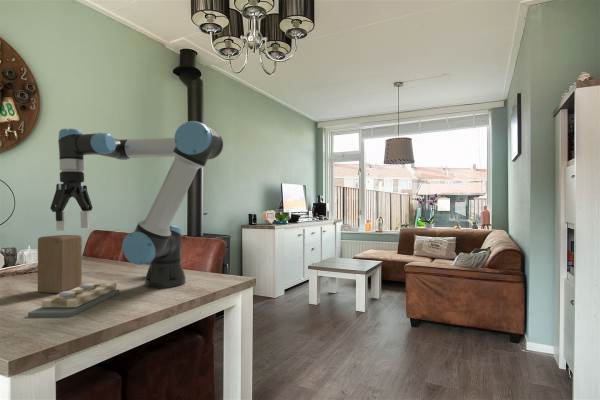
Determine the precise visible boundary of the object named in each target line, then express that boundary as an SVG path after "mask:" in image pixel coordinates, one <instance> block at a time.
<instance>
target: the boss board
mask: <svg viewBox="0 0 600 400" xmlns="http://www.w3.org/2000/svg"><path fill="white" fill-rule="evenodd" d="M92 283H93V282H88V283H83V284H82V285H80V288H84V291H90V288H91V287H93V284H92ZM58 294H59V296H60V297H63V300H69V299H70V296H71V295H73V291H64V292H60V293H58ZM118 294H120V289H115V290H113V291H110V292H108V293H106V294H104V295H102V296H100V297H97V298H95V299H93V300H91V301H89V302H87V303H84V304H82V305H80V306H78V307H42V306H41V307H39V308H37V309H34V310H31V311H29V312H28V313H27V317H28V318H71V317H73V316H75V315H78V314H79V313H81V312H83V311H86V310H87V309H90V308H91V307H94V306H96V305H97V304H99V303H102V302H103V301H106V300H107V299H110V298H112V297H114V296H117V295H118Z"/></svg>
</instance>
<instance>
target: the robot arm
mask: <svg viewBox="0 0 600 400" xmlns="http://www.w3.org/2000/svg"><path fill="white" fill-rule="evenodd" d="M57 142H58V154H59V157H58V158H59V171H60V172H59V182H60V183H56V185H55V186H56V189H55V193H54V195H53V199H52V201H51V205H50V211H51V212H52V213H55V221H56V222H55V223H56V224H55V225H56V231H57V232H59V231H60V232H61V231H66V230H67V228H66V227H67V225H66V211H64V210H65V209H66V207H67V205H68V203H69V201H70V199H71V198H74V199H75V201H76V202H77V205H78V206H79V207H80V228H81V229H85V228H86V229H89V228H90V214H89V212H91V211H92V210H93V205H92V202H91V199H90V196H89V192H88V187H87V185H86V184H85V185H82V183H83V182H85V173H84V171H85V166H84V165H85V163H84V156H87V155H88V156H91V155H95V156H96V155H98V156H102V157H108V158H114V159H116V160H122V161H123V160H129V159H143V158H145V159H146V158H174V160H172V161H173V162H172V163H171V165H170V168H169V169H168V172H167V174H166V176H165V178H164V180H163V182H162V184H161V185H160V188H159V190H158V192H157V194H156V197H155V199H154V201H153V203H152V205H151V207H150V209H149V211H148V213H147V215H146V217H145V218H144V219H141V220H139V221H138V223H137V225H136V228H135V229H134V231H132V232H129V233H128V234H127V235H126V236H125V237H124V239H123V240H122V244H121V245H122V248H121V249H122V253H123V254H124V257H125V259H126V260H127V261H129V262H130V263H131V264H133V265H138V266H139V265H140V266H141V265H142V266H143V265H148V264H149V266H148V269H147V272H146V274H145V277H144V287H146V288H152V289H161V288H163V289H164V288H172V287H179V286H181V285H184V284H186V279H187V278H186V274H185V272H184V269H183V265H182V230H181V229H182V228H181V227H180V226H178V225H172V223H173V221H174V220H175V216H176V215H177V213H178V210H179V208H180V207H181V205H182V202H183V201H184V198H185V197H186V194H187V193H188V191H189V188H190V186H191V185H192V182H193V180H194V178H195V176H196V175H197V172H198V170H199V169H202V168H205V166H206V164H207V162H208V160H213V159H215V158H217V157H218V156H220V154H221V153H222V152H223V149H224V141H223V138H222V136H221V134H220V133H219V132H218V131H216V129H213V128H211V127H210V126H208V125H207V124H205V123H202V122H200V121H196V120H190V121H186V122H183V123H181V125H179V126H178V127H177V128H176V131H175V133H174V137H156V138H155V137H154V138H152V137H151V138H132V139H131V138H129V139H127V138H126V139H118V138H115V137H114V136H112V134H110V133H108V132H97V133H83V131H82V130H80V129H76V128H61V129H60V130H59V131H58V140H57Z"/></svg>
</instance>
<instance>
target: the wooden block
mask: <svg viewBox="0 0 600 400" xmlns="http://www.w3.org/2000/svg"><path fill="white" fill-rule="evenodd" d="M82 242H83V241H82V235H79V234H58V235H57V234H56V235H48V236H47V235H45V236H40V237H38V238H37V291H38V292H39V293H42V294H43V293H44V294H45V293H46V294H59V293H60V292H64V291H69V290H72V289H74V288H77V287H80V285H82V278H83V277H82V274H83V273H82V271H83V270H82V269H83V268H82V263H83V260H82V259H83V256H82V255H83V254H82V253H83V252H82V251H83V250H82V246H83V243H82Z"/></svg>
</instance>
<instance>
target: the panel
mask: <svg viewBox="0 0 600 400" xmlns="http://www.w3.org/2000/svg"><path fill="white" fill-rule="evenodd" d="M91 283H92V284H93V287H91V288H90V291H84V288H80V287H77V288H74V289H72V290H69V291H73V295H71V296H70V299H69V300H63V297H60V296H59V293H57V294H56V295H54V296H51V297H48V298H44V299H42V300H41V307H78V306H80V305H82V304H84V303H87V302H89V301H91V300H93V299H95V298H97V297H100V296H102V295H104V294H106V293H108V292H110V291H113V290H117V282H91Z"/></svg>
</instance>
